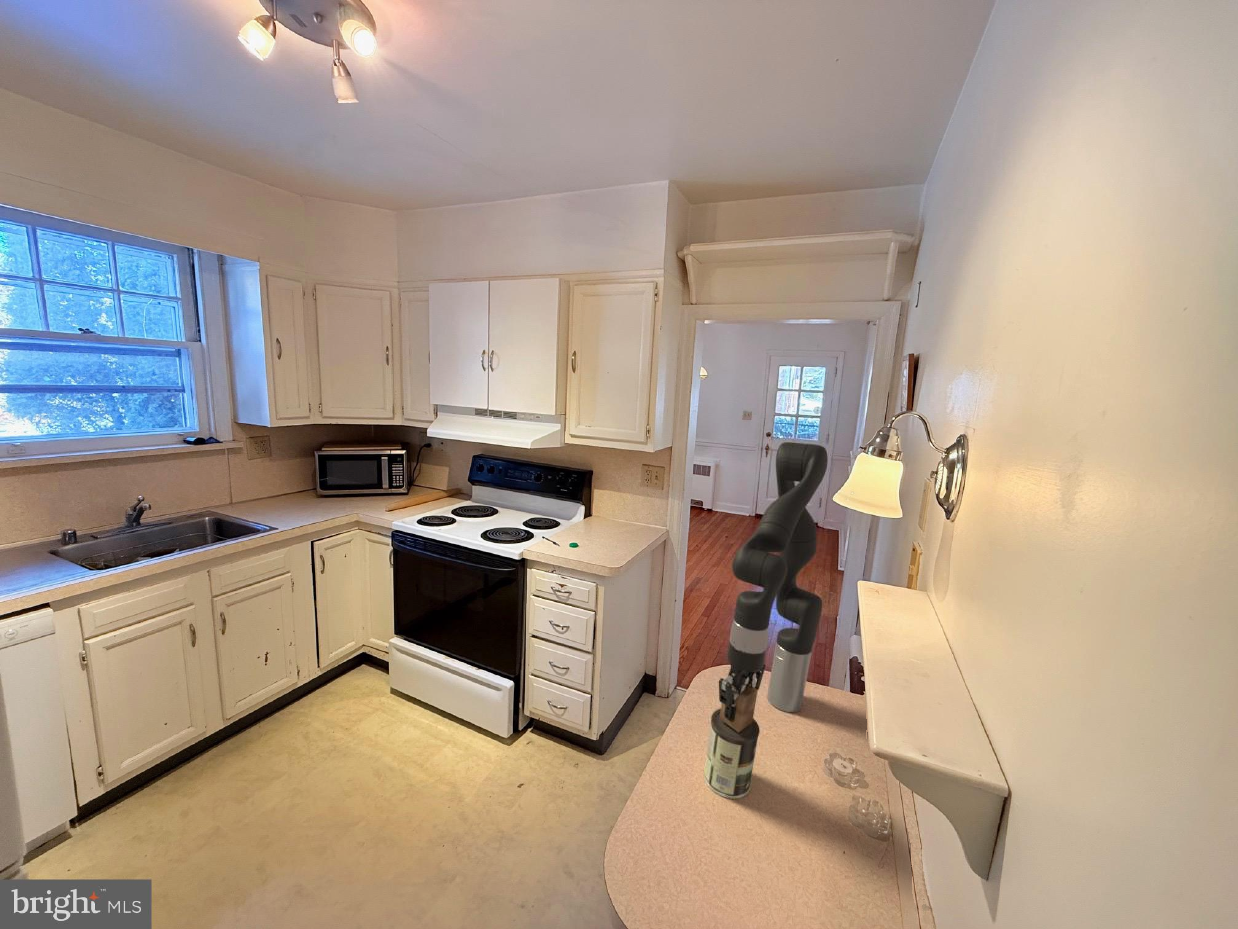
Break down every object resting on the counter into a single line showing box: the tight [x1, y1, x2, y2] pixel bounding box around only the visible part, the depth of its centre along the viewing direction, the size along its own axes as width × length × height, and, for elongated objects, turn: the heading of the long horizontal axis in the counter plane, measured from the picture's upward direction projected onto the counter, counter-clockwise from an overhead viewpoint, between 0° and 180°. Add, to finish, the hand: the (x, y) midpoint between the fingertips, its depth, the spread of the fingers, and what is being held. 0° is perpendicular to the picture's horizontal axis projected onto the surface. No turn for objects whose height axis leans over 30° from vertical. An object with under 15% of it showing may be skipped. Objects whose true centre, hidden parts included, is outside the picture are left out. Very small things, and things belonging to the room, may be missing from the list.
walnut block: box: [719, 685, 759, 732], centre depth 104 cm, size 5×5×8 cm
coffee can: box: [703, 707, 760, 800], centre depth 106 cm, size 10×10×14 cm
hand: (736, 713), depth 105 cm, fingers closed on walnut block, 5 cm apart
